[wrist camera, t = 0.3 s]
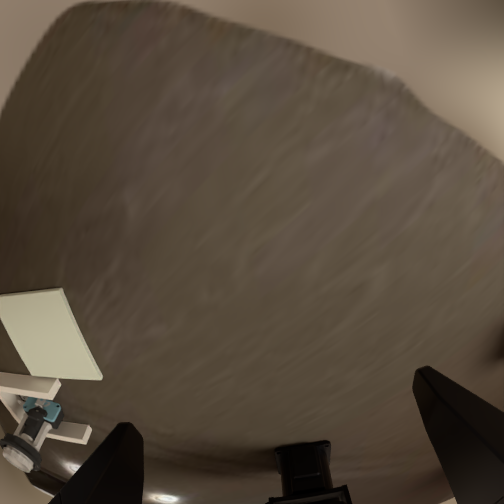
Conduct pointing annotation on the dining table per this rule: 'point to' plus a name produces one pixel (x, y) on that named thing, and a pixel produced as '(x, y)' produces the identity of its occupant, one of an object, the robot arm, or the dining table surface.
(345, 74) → the dining table surface
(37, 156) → the dining table surface
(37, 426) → the push button
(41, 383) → the white u-shaped bracket
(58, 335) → the mat
